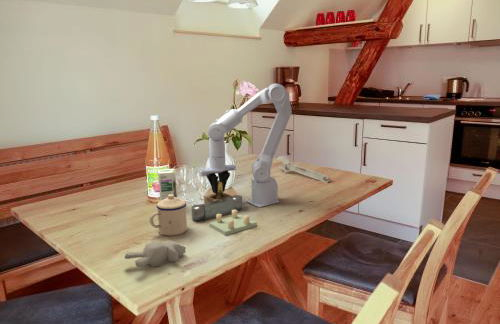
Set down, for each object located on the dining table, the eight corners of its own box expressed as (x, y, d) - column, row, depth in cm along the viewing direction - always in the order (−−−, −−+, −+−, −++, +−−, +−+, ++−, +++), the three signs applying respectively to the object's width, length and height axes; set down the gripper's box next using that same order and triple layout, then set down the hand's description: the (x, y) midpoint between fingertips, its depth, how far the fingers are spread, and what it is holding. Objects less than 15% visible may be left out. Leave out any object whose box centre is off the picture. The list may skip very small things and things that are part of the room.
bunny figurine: (191, 244, 106) (140, 257, 96) (191, 263, 107) (139, 277, 96) (172, 234, 113) (122, 245, 102) (171, 251, 114) (121, 264, 103)
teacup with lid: (178, 222, 132) (176, 188, 129) (193, 230, 125) (191, 195, 122) (144, 232, 124) (141, 196, 122) (158, 241, 118) (155, 204, 115)
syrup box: (161, 212, 141) (158, 173, 138) (160, 207, 147) (157, 169, 143) (177, 210, 143) (175, 171, 139) (176, 205, 148) (173, 167, 145)
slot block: (222, 199, 154) (222, 191, 154) (234, 204, 148) (233, 196, 148) (204, 203, 150) (204, 195, 149) (215, 209, 144) (215, 201, 143)
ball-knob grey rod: (237, 206, 146) (237, 194, 145) (245, 209, 143) (244, 197, 142) (189, 219, 135) (189, 206, 133) (196, 223, 131) (195, 209, 130)
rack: (240, 217, 135) (239, 207, 134) (256, 225, 128) (256, 215, 127) (209, 226, 128) (209, 215, 127) (225, 235, 121) (224, 224, 120)
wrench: (327, 189, 174) (275, 170, 194) (329, 188, 175) (277, 169, 195) (329, 172, 172) (276, 154, 191) (331, 171, 173) (279, 154, 193)
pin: (220, 195, 150) (220, 179, 148) (224, 197, 148) (223, 181, 146) (214, 196, 148) (214, 180, 147) (217, 198, 146) (217, 182, 145)
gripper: (227, 151, 152) (228, 185, 155) (194, 157, 144) (196, 193, 147) (238, 154, 147) (239, 190, 150) (204, 160, 138) (205, 197, 141)
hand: (218, 191), depth 148 cm, fingers closed on pin, 3 cm apart
